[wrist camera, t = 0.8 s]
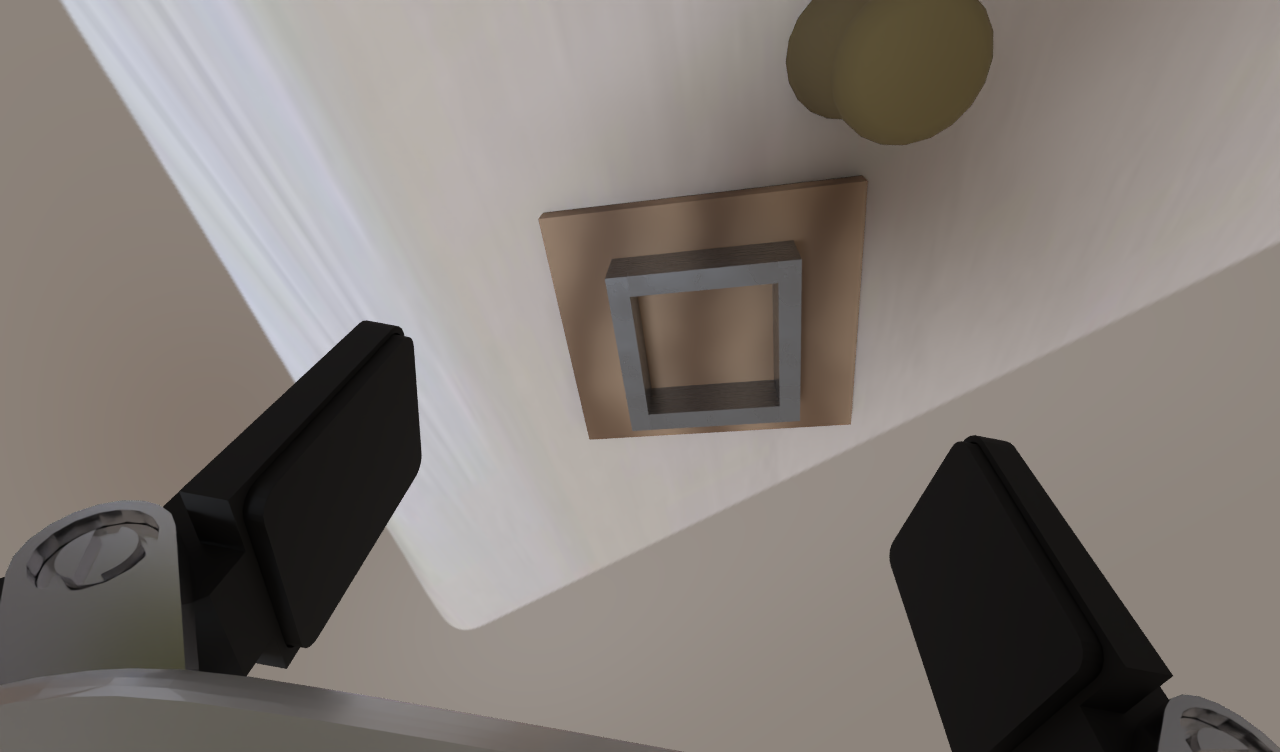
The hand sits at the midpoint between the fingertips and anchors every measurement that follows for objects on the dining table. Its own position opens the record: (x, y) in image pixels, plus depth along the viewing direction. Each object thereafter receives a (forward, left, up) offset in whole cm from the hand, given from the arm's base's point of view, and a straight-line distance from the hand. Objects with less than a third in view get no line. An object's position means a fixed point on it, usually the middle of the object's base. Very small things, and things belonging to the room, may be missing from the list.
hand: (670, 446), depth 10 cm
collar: (0, +10, -24) cm, 26 cm away
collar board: (0, +10, -25) cm, 27 cm away
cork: (-8, -4, -25) cm, 27 cm away
